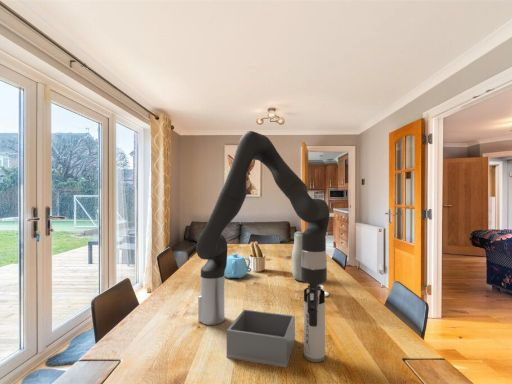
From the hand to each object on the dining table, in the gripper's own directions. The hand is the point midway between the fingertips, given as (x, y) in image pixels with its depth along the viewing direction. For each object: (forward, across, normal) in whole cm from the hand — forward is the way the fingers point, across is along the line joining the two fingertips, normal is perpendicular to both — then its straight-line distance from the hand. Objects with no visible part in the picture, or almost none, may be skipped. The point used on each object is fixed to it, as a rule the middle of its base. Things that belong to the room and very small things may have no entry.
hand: (314, 320), depth 85 cm
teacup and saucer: (+11, -54, -3) cm, 55 cm away
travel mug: (+11, 0, 0) cm, 11 cm away
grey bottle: (+11, -76, -14) cm, 78 cm away
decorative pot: (+11, -73, -53) cm, 91 cm away
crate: (+11, 0, -16) cm, 19 cm away
